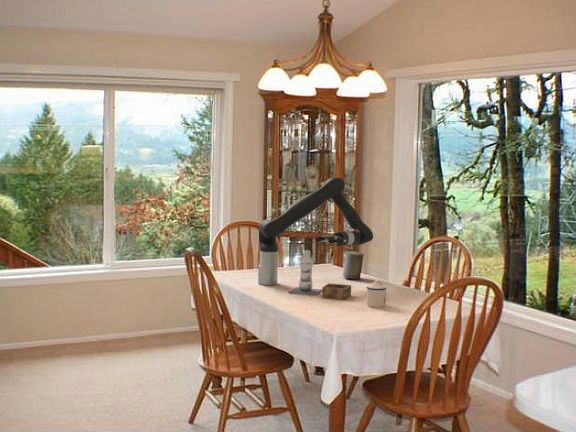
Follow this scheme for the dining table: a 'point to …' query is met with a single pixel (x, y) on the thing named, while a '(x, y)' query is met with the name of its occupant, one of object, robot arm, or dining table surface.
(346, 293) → the walnut sleeve
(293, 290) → the rubber mat
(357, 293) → the dining table surface
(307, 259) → the silver aluminum bottle
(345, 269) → the pillar candle
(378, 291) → the teacup with lid
